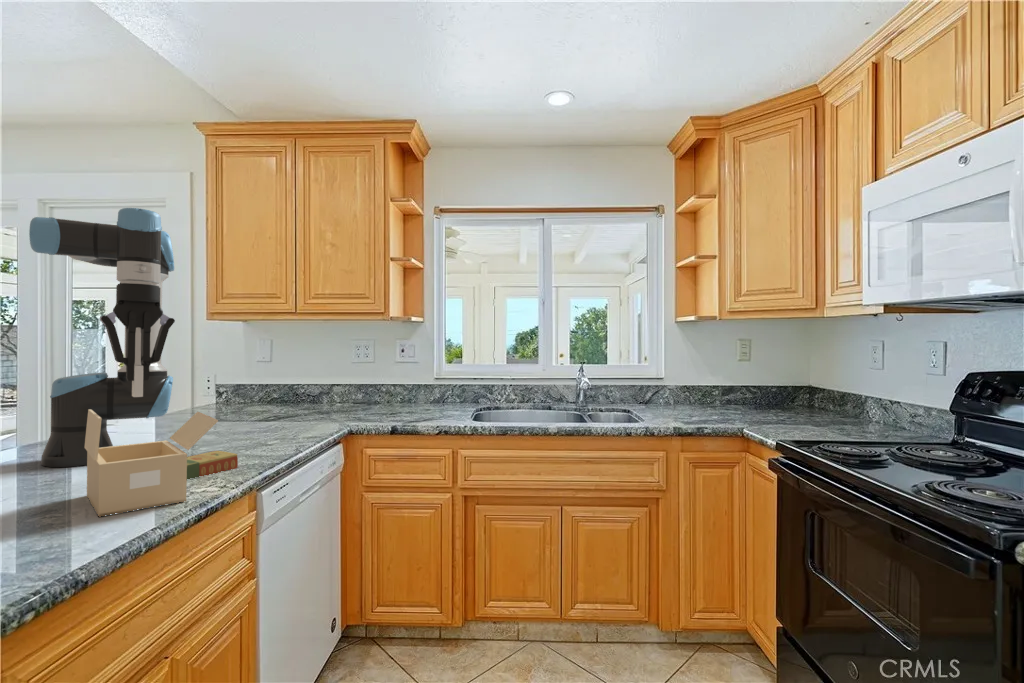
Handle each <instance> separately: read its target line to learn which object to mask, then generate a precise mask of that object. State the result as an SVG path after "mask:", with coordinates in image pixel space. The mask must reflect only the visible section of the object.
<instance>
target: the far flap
mask: <svg viewBox="0 0 1024 683" xmlns="http://www.w3.org/2000/svg"><path fill="white" fill-rule="evenodd" d="M218 422H219V420H218V419H217V418H215V417H212V416H210V415H207V414H205V413H202V412H200V411H197V412H196V413H194V414H193V415H192V416H191V417H190V418H189V419H188V420H187V421H186V422H185V423H184V424H183V425H182V426H181V427H180V428H178V429H177V431H175V432H174V433H173V434H172V435H171V436H170V437H169V439H171V440H172V441H173V442H175V443H176V444H178V445H179V446H181V447H182V448H184V449H185V450H187V451H189V450H190V449H192V447H194V445H196V444H197V442H199V440H201V439H202V437H204V435H206V434H207V433H208V431H210V430H211V429H212V428H213V427H214V426H215V425H216V424H217V423H218Z"/></svg>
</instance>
